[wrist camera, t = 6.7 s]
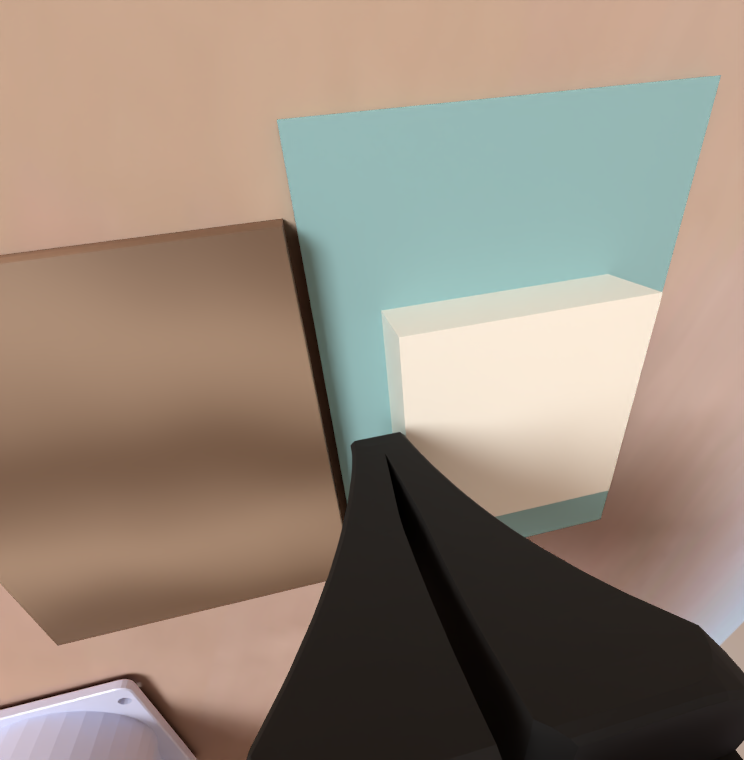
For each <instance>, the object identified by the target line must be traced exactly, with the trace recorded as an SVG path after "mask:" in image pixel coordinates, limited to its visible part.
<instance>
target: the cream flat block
mask: <svg viewBox="0 0 744 760" xmlns="http://www.w3.org/2000/svg"><path fill="white" fill-rule="evenodd" d="M662 293H663V292H660V291H657V290H654V289H651V288H648V287H645V286H642V285H639V284H636V283H633V282H630V281H627V280H624V279H621V278H618V277H615V276H612V275H609V274H604V275H598V276H592V277H586V278H580V279H573V280H567V281H561V282H555V283H549V284H542V285H536V286H530V287H524V288H518V289H512V290H505V291H499V292H493V293H487V294H481V295H474V296H468V297H462V298H456V299H450V300H444V301H437V302H431V303H425V304H419V305H413V306H406V307H400V308H394V309H388V310H382V311H381V314H382V325H383V336H384V347H385V358H386V369H387V380H388V390H389V401H390V412H391V423H392V433H396V432H401V433H402V434H404V435H405V436H406V438H407V439H408V440H409V441H410V442H411V443H412V444H413V445H414V446H415V448H416V449H417V450H418V451H419V452H420V453H421V454H422V455H423V456H424V457H425V458H426V459H427V460H428V461H429V462H430V463H431V464H432V465H433V466H434V467H435V468H436V469H438V470H439V471H440V472H441V473H442V474H443V475H444V476H445V477H446V478H447V479H449V480H450V481H451V482H452V483H453V484H454V485H455V486H456V487H458V488H459V489H460V490H461V491H462V492H464V493H465V494H466V495H467V496H468V497H470V498H471V499H472V500H473V501H475V502H476V503H477V504H478V505H480V506H481V507H482V508H484V509H485V510H486V511H488V512H489V513H490V514H492V515H493V516H494V517H496V516H501V515H505V514H509V513H513V512H518V511H522V510H526V509H531V508H535V507H539V506H544V505H548V504H552V503H556V502H561V501H565V500H569V499H574V498H578V497H582V496H586V495H591V494H595V493H599V492H604V491H608V490H609V488H610V484H611V481H612V477H613V473H614V470H615V466H616V462H617V459H618V455H619V451H620V448H621V444H622V440H623V437H624V433H625V429H626V426H627V422H628V418H629V415H630V411H631V407H632V404H633V400H634V396H635V392H636V389H637V385H638V381H639V378H640V374H641V370H642V367H643V363H644V359H645V356H646V352H647V348H648V345H649V341H650V337H651V334H652V330H653V326H654V323H655V319H656V315H657V312H658V308H659V304H660V301H661V297H662Z"/></svg>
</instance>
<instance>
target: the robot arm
mask: <svg viewBox="0 0 744 760" xmlns="http://www.w3.org/2000/svg"><path fill="white" fill-rule="evenodd" d="M350 446H351V452H352V473H351V483H350V489H349V496H348V503H347V508H346V512H345V517H344V521H343V526H342V530H341V534H340V538H339V542H338V545H337V549H336V552H335V556H334V559H333V562H332V565H331V569H330V572H329V575H328V578H327V580H326V583H325V586H324V589H323V592H322V594H321V597H320V600H319V603H318V605H317V608H316V610H315V613H314V615H313V618H312V620H311V623H310V625H309V628H308V630H307V632H306V634H305V637H304V639H303V641H302V643H301V646H300V648H299V650H298V652H297V655H296V657H295V659H294V662H293V664H292V666H291V668H290V671H289V673H288V675H287V677H286V679H285V681H284V683H283V685H282V687H281V689H280V691H279V693H278V695H277V697H276V699H275V701H274V703H273V705H272V707H271V709H270V711H269V713H268V715H267V717H266V719H265V721H264V723H263V725H262V726H261V728H260V730H259V732H258V734H257V736H256V738H255V740H254V742H253V744H252V746H251V748H250V750H249V753H248V756H247V760H743V759H742V758H741V757H740V755H739V754H738V753H737V751H736V749H737V747H738V746H739V745H740V744H741V743H742V742H743V741H744V673H743V671H742V670H741V669H740V668H739V667H738V666H737V665H736V663H735V662H734V661H733V660H732V659H731V658H730V657H729V656H728V654H727V653H726V652H725V651H724V650H723V649H722V648H721V647H720V646H719V645H718V644H717V643H716V642H715V641H714V640H713V639H712V638H711V637H710V636H709V635H708V634H707V633H706V632H705V631H704V630H703V629H702V628H701V627H700V626H699V625H696V624H694V623H692V622H689V621H687V620H685V619H683V618H680V617H678V616H676V615H674V614H671V613H669V612H667V611H665V610H662V609H660V608H658V607H656V606H653V605H651V604H649V603H647V602H644V601H642V600H640V599H638V598H635V597H633V596H631V595H629V594H627V593H625V592H622V591H620V590H618V589H616V588H614V587H612V586H610V585H609V584H607V583H605V582H603V581H601V580H599V579H597V578H595V577H593V576H591V575H589V574H587V573H585V572H583V571H581V570H579V569H578V568H576V567H574V566H572V565H571V564H569V563H567V562H565V561H564V560H562V559H560V558H558V557H557V556H555V555H553V554H551V553H550V552H548V551H546V550H544V549H543V548H541V547H539V546H538V545H536V544H534V543H533V542H531V541H530V540H528V539H527V538H525V537H524V536H522V535H520V534H519V533H517V532H516V531H514V530H513V529H511V528H510V527H509V526H507V525H506V524H504V523H503V522H501V521H500V520H498V519H497V518H496V517H494V516H493V515H492V514H490V513H489V512H488V511H486V510H485V509H484V508H482V507H481V506H480V505H478V504H477V503H476V502H475V501H473V500H472V499H471V498H470V497H468V496H467V495H466V494H465V493H464V492H462V491H461V490H460V489H459V488H458V487H456V486H455V485H454V484H453V483H452V482H451V481H450V480H449V479H447V478H446V477H445V476H444V475H443V474H442V473H441V472H440V471H439V470H438V469H436V468H435V467H434V466H433V465H432V464H431V463H430V462H429V461H428V460H427V459H426V458H425V457H424V456H423V455H422V454H421V453H420V452H419V451H418V450H417V449H416V448H415V446H414V445H413V444H412V443H411V442H410V441H409V440H408V439H407V438H406V436H405V435H404V434H402V433H401V432H396V433H391V434H386V435H382V436H377V437H372V438H367V439H362V440H357V441H354V442H353V443H352V444H351V445H350ZM0 760H197V758H196V757H195V756H194V755H193V753H192V752H191V751H190V750H189V749H188V747H187V746H186V745H185V744H184V742H183V741H182V740H181V739H180V738H179V736H178V735H177V734H176V733H175V731H174V730H173V729H172V728H171V726H170V725H169V724H168V723H167V722H166V720H165V719H164V718H163V717H162V715H161V714H160V713H159V712H158V710H157V709H156V708H155V707H154V706H153V704H152V703H151V702H150V701H149V699H148V698H147V697H146V696H145V695H144V693H143V692H142V691H141V690H140V688H139V687H138V686H137V685H136V683H135V682H134V681H132V680H129V679H120V680H116V681H112V682H108V683H104V684H100V685H96V686H92V687H88V688H84V689H81V690H77V691H73V692H69V693H65V694H61V695H57V696H53V697H49V698H45V699H41V700H37V701H33V702H29V703H25V704H22V705H18V706H14V707H10V708H6V709H2V710H0Z"/></svg>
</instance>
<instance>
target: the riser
mask: <svg viewBox="0 0 744 760" xmlns="http://www.w3.org/2000/svg"><path fill="white" fill-rule="evenodd" d="M342 526H343V522H342V517H341V512H340V507H339V502H338V497H337V492H336V487H335V482H334V477H333V472H332V466H331V461H330V456H329V451H328V446H327V441H326V436H325V431H324V426H323V421H322V416H321V411H320V406H319V401H318V396H317V391H316V386H315V380H314V375H313V370H312V365H311V360H310V355H309V350H308V345H307V340H306V335H305V330H304V325H303V320H302V315H301V310H300V305H299V300H298V294H297V289H296V284H295V279H294V274H293V269H292V264H291V259H290V254H289V249H288V244H287V239H286V234H285V229H284V224H283V219H276V220H268V221H261V222H253V223H245V224H238V225H230V226H222V227H214V228H207V229H199V230H191V231H184V232H176V233H168V234H160V235H153V236H145V237H137V238H130V239H122V240H114V241H106V242H99V243H91V244H83V245H76V246H68V247H60V248H52V249H45V250H37V251H29V252H22V253H14V254H6V255H0V584H1V585H2V586H3V587H4V588H5V589H6V590H7V591H8V592H9V593H10V594H11V596H12V597H13V598H14V599H15V600H16V601H17V602H18V603H19V604H20V605H21V606H22V607H23V609H24V610H25V611H26V612H27V613H28V614H29V615H30V616H31V617H32V618H33V619H34V620H35V622H36V623H37V624H38V625H39V626H40V627H41V628H42V629H43V630H44V631H45V632H46V633H47V634H48V636H49V637H50V638H51V639H52V640H53V641H54V642H55V643H56V644H57V645H62V644H66V643H71V642H75V641H79V640H83V639H87V638H91V637H96V636H100V635H104V634H108V633H112V632H116V631H120V630H125V629H129V628H133V627H137V626H141V625H145V624H150V623H154V622H158V621H162V620H166V619H170V618H175V617H179V616H183V615H187V614H191V613H195V612H199V611H204V610H208V609H212V608H216V607H220V606H224V605H229V604H233V603H237V602H241V601H245V600H249V599H254V598H258V597H262V596H266V595H270V594H274V593H278V592H283V591H287V590H291V589H295V588H299V587H303V586H308V585H312V584H316V583H320V582H324V581H326V580H327V578H328V575H329V572H330V569H331V565H332V562H333V559H334V556H335V552H336V549H337V545H338V542H339V538H340V534H341V530H342Z"/></svg>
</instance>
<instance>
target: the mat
mask: <svg viewBox="0 0 744 760" xmlns="http://www.w3.org/2000/svg"><path fill="white" fill-rule="evenodd" d="M720 77H721V75H719V76H709V77H699V78H689V79H679V80H669V81H659V82H649V83H639V84H629V85H619V86H609V87H599V88H589V89H579V90H569V91H559V92H549V93H539V94H529V95H519V96H509V97H499V98H489V99H479V100H469V101H459V102H449V103H439V104H429V105H419V106H409V107H399V108H389V109H379V110H369V111H359V112H349V113H339V114H329V115H319V116H309V117H299V118H289V119H279V120H277V123H278V129H279V134H280V140H281V145H282V151H283V156H284V162H285V167H286V173H287V178H288V183H289V189H290V194H291V200H292V205H293V211H294V216H295V222H296V227H297V233H298V238H299V244H300V249H301V254H302V260H303V265H304V271H305V276H306V282H307V287H308V293H309V298H310V304H311V309H312V315H313V320H314V325H315V331H316V336H317V342H318V347H319V353H320V358H321V364H322V369H323V375H324V380H325V386H326V391H327V397H328V402H329V407H330V413H331V418H332V424H333V429H334V435H335V440H336V446H337V451H338V457H339V462H340V468H341V473H342V478H343V484H344V489H345V495H346V500H347V503H348V496H349V489H350V483H351V473H352V452H351V446H350V445H351V444H352V443H353V442H354V441H357V440H362V439H367V438H372V437H377V436H382V435H386V434H391V433H392V423H391V412H390V401H389V390H388V380H387V369H386V358H385V347H384V336H383V325H382V314H381V311H382V310H388V309H394V308H400V307H406V306H413V305H419V304H425V303H431V302H437V301H444V300H450V299H456V298H462V297H468V296H474V295H481V294H487V293H493V292H499V291H505V290H512V289H518V288H524V287H530V286H536V285H542V284H549V283H555V282H561V281H567V280H573V279H580V278H586V277H592V276H598V275H604V274H609V275H612V276H615V277H618V278H621V279H624V280H627V281H630V282H633V283H636V284H639V285H642V286H645V287H648V288H651V289H654V290H657V291H660V292H662V291H663V287H664V283H665V280H666V276H667V272H668V269H669V265H670V261H671V258H672V254H673V250H674V247H675V243H676V239H677V235H678V232H679V228H680V224H681V221H682V217H683V213H684V210H685V206H686V202H687V199H688V195H689V191H690V188H691V184H692V180H693V176H694V173H695V169H696V165H697V162H698V158H699V154H700V151H701V147H702V143H703V140H704V136H705V132H706V129H707V125H708V121H709V118H710V114H711V110H712V106H713V103H714V99H715V95H716V92H717V88H718V84H719V81H720ZM607 494H608V491H604V492H599V493H595V494H591V495H586V496H582V497H578V498H574V499H569V500H565V501H561V502H556V503H552V504H548V505H544V506H539V507H535V508H531V509H526V510H522V511H518V512H513V513H509V514H505V515H501V516H496V518H497V519H498V520H500V521H501V522H503V523H504V524H506V525H507V526H509V527H510V528H511V529H513V530H514V531H516V532H517V533H519V534H520V535H522V536H524V537H529V536H533V535H537V534H541V533H545V532H549V531H554V530H558V529H562V528H566V527H570V526H574V525H578V524H583V523H587V522H591V521H595V520H599V519H601V516H602V512H603V508H604V505H605V501H606V497H607Z"/></svg>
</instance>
